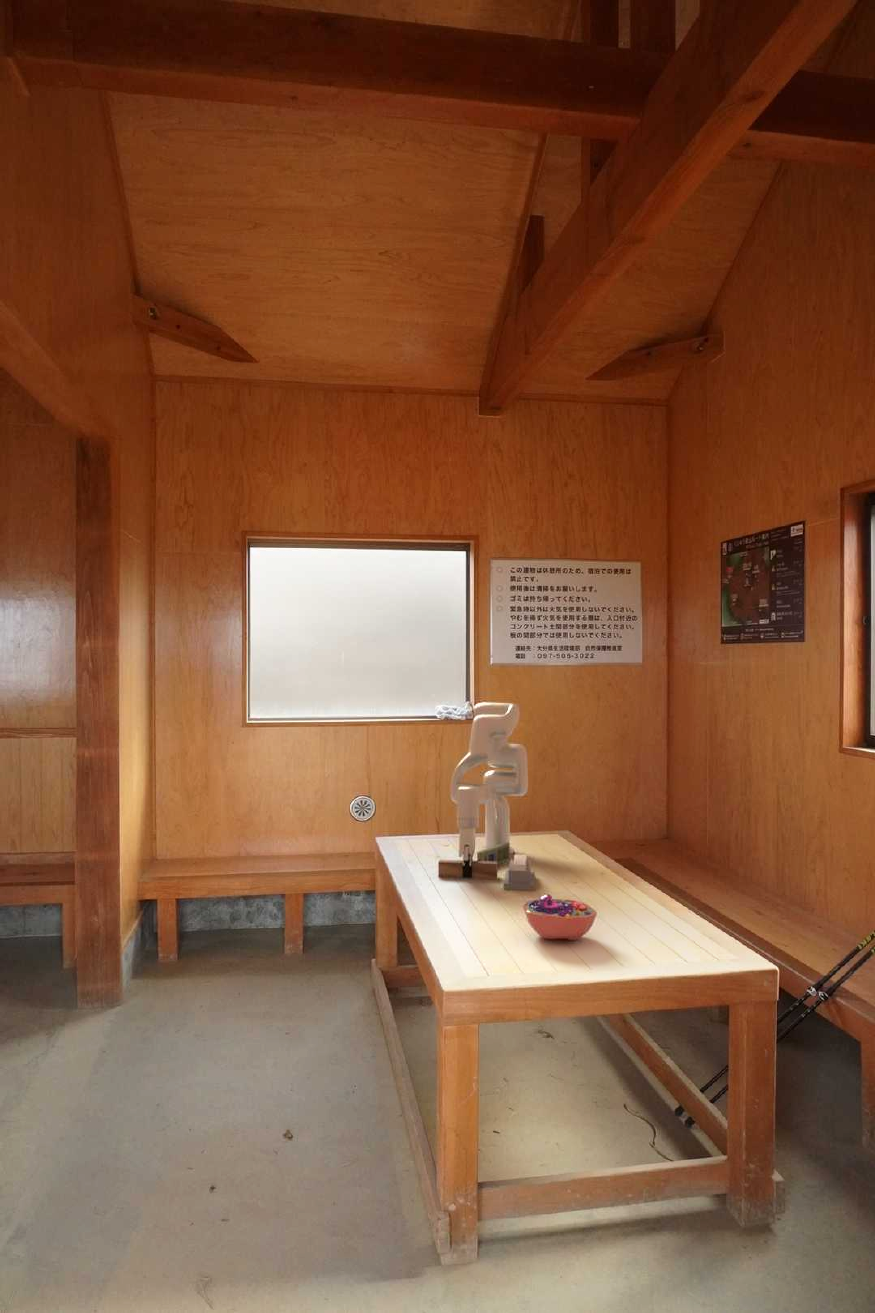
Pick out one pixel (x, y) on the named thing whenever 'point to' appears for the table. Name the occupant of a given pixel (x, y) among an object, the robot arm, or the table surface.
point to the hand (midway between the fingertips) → (467, 875)
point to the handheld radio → (495, 853)
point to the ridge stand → (519, 875)
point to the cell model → (559, 917)
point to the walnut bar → (478, 869)
